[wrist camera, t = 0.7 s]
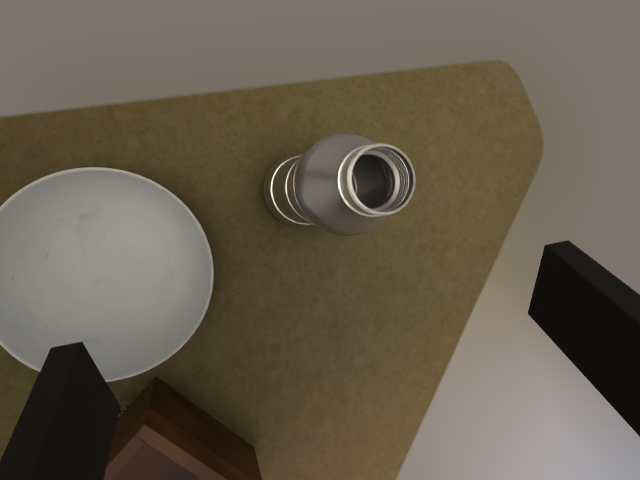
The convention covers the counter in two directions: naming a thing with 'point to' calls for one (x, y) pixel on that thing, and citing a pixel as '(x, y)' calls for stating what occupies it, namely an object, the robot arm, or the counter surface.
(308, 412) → the counter surface
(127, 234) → the chinaware
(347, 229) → the metal bottle
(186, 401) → the walnut box
